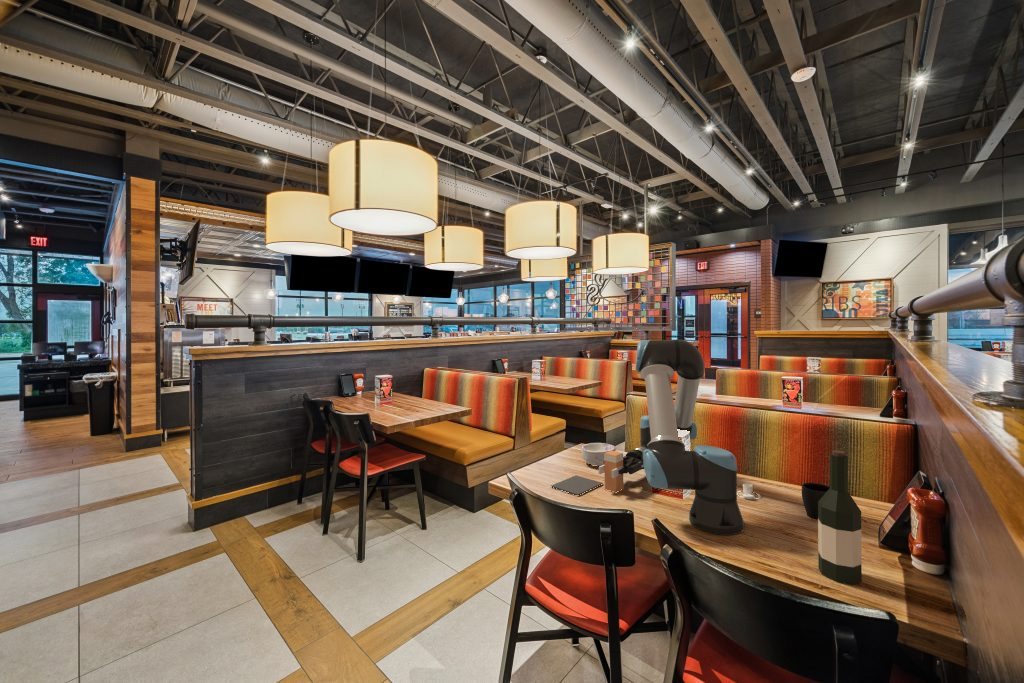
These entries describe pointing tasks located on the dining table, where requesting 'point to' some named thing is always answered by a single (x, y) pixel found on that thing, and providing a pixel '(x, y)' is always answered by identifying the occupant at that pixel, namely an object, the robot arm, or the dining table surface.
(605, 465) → the orange wooden block
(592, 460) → the grey bowl
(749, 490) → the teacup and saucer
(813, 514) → the mug
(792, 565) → the dining table surface
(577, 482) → the mat
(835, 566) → the wine bottle
